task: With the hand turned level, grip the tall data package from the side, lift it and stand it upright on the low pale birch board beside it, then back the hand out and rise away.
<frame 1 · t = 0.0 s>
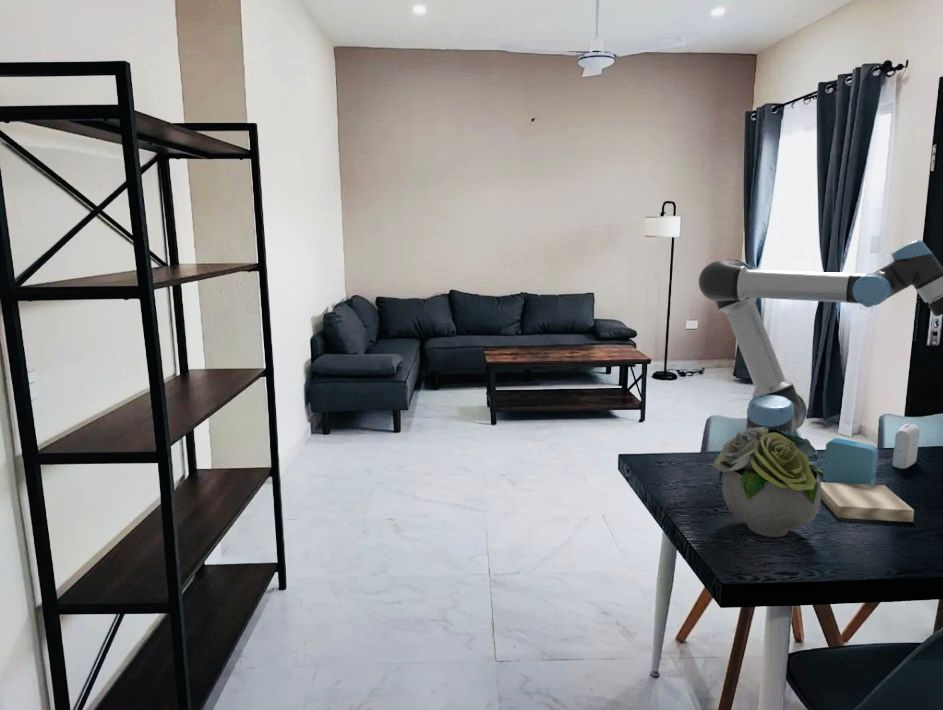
data package: (847, 485, 189), on the table
birch board: (861, 506, 174), on the table
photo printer: (904, 465, 205), on the table
flower arrangement: (767, 531, 160), on the table
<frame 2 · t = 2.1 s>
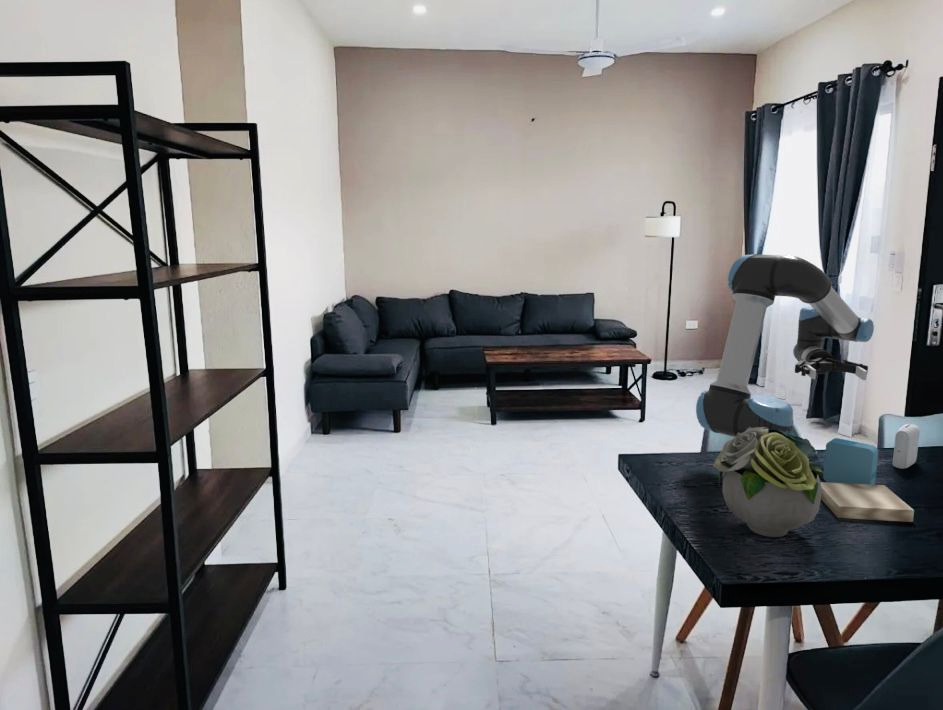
hand: (839, 375, 197), 28 cm above the table, tool horizontal, fingers open, 13 cm apart
nothing on the table moved.
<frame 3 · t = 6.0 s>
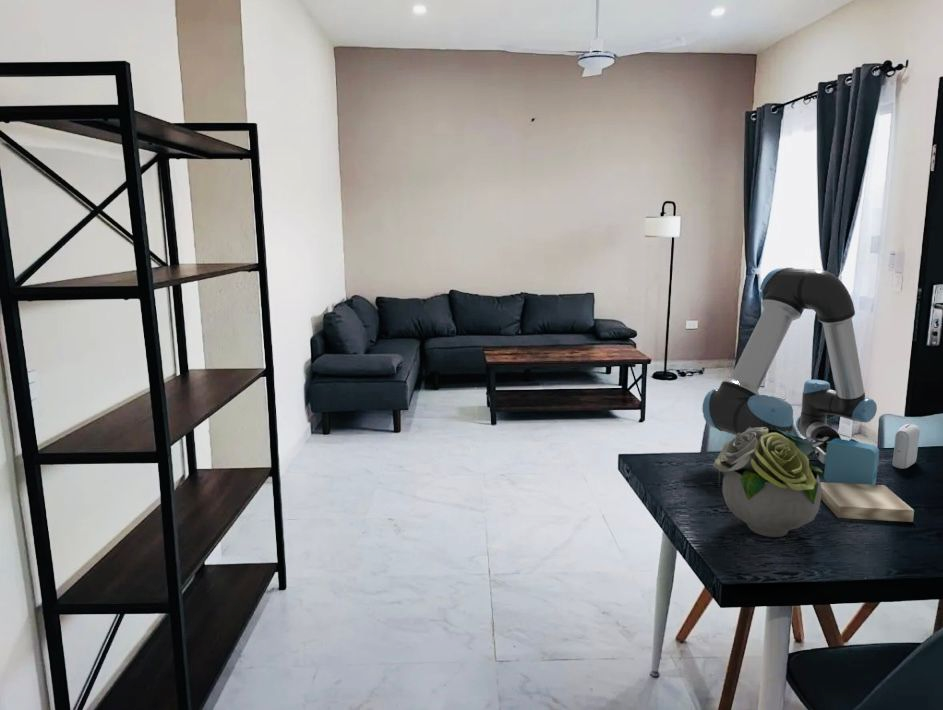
hand: (850, 460, 189), 6 cm above the table, tool horizontal, fingers open, 13 cm apart
data package: (849, 485, 188), on the table, touching gripper
everything else where it was.
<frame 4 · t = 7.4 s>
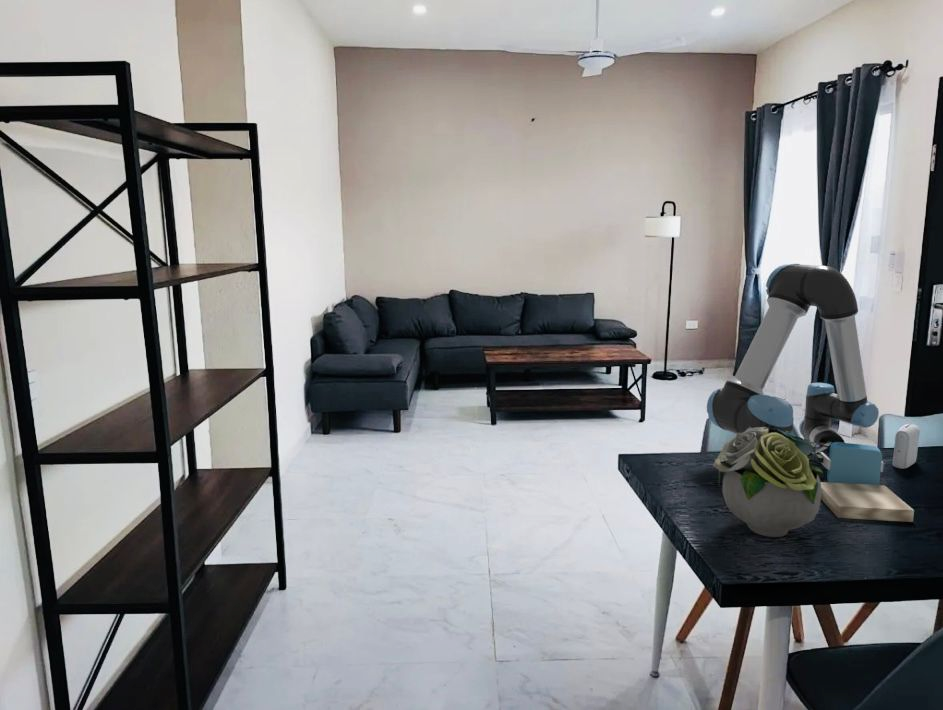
hand: (855, 465, 184), 7 cm above the table, tool horizontal, fingers closed on data package, 13 cm apart
data package: (851, 488, 186), on the table, touching gripper
everything else where it was.
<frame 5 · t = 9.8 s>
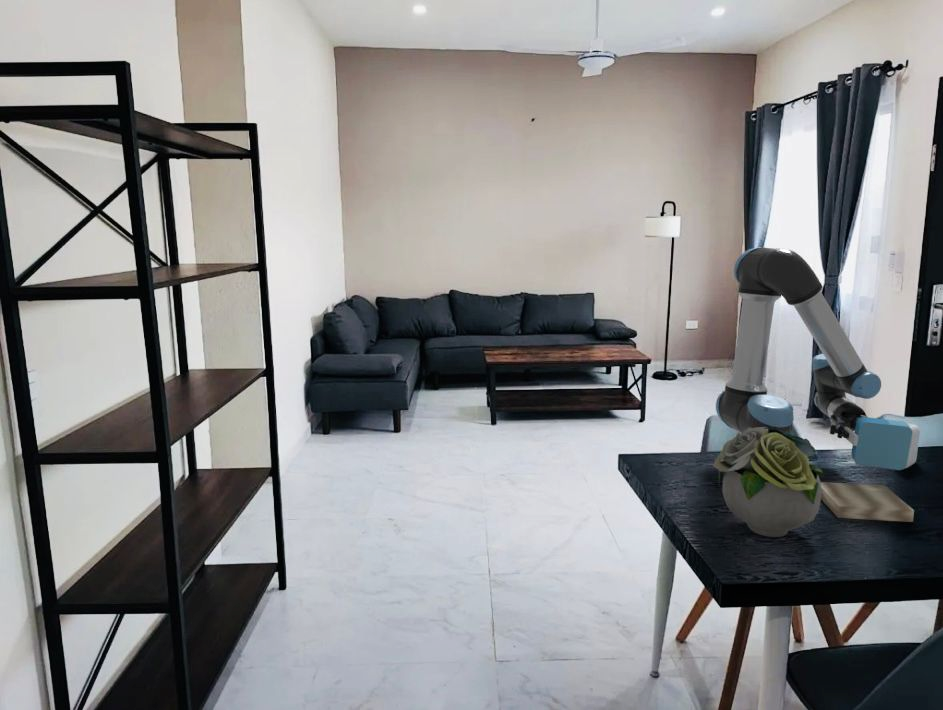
hand: (883, 442, 176), 16 cm above the table, tool horizontal, fingers closed on data package, 13 cm apart
data package: (877, 465, 178), point 9 cm above the table, touching gripper
everything else where it was.
when the fingers open (11 cm above the table, at t = 12.2 s): data package drops 1 cm, resting on birch board.
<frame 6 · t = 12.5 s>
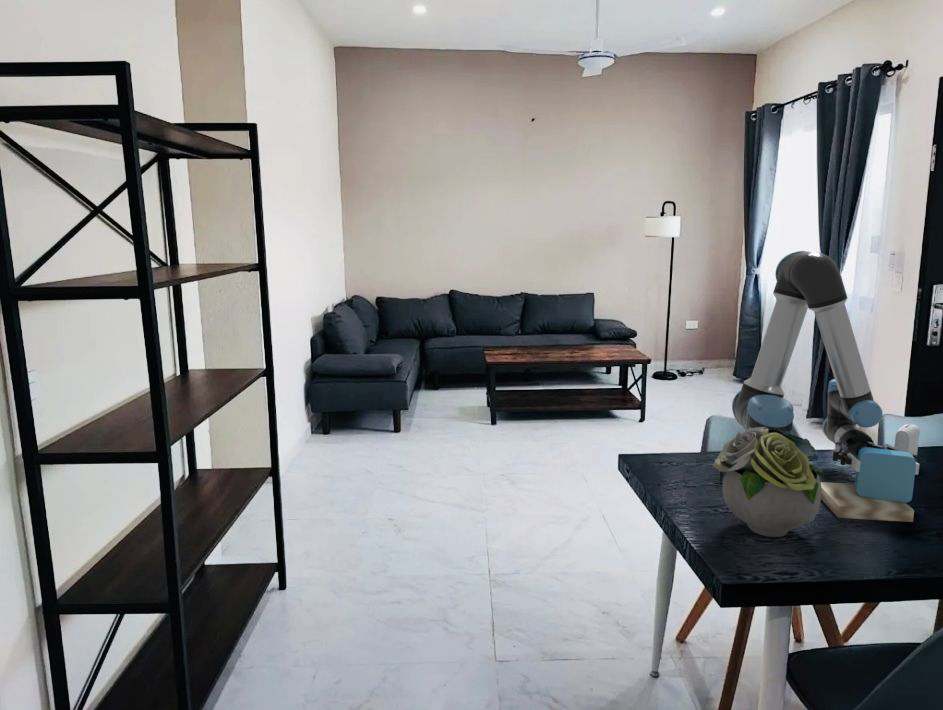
hand: (887, 468, 169), 11 cm above the table, tool horizontal, fingers open, 13 cm apart
data package: (882, 497, 172), point 3 cm above the table, touching birch board
everything else where it was.
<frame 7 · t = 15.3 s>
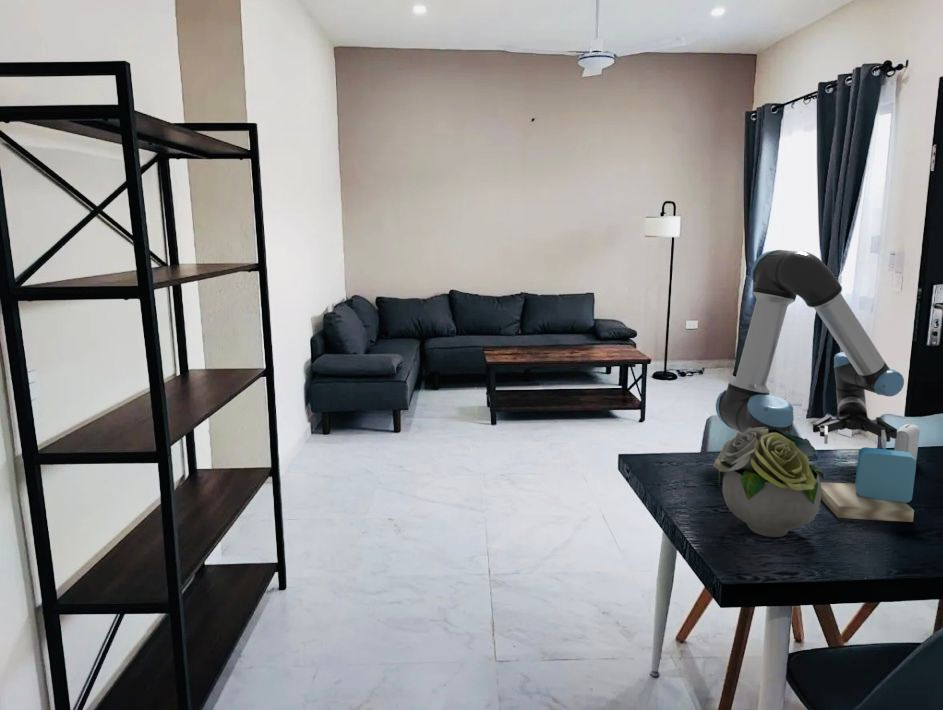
hand: (854, 441, 181), 14 cm above the table, tool horizontal, fingers open, 13 cm apart
nothing on the table moved.
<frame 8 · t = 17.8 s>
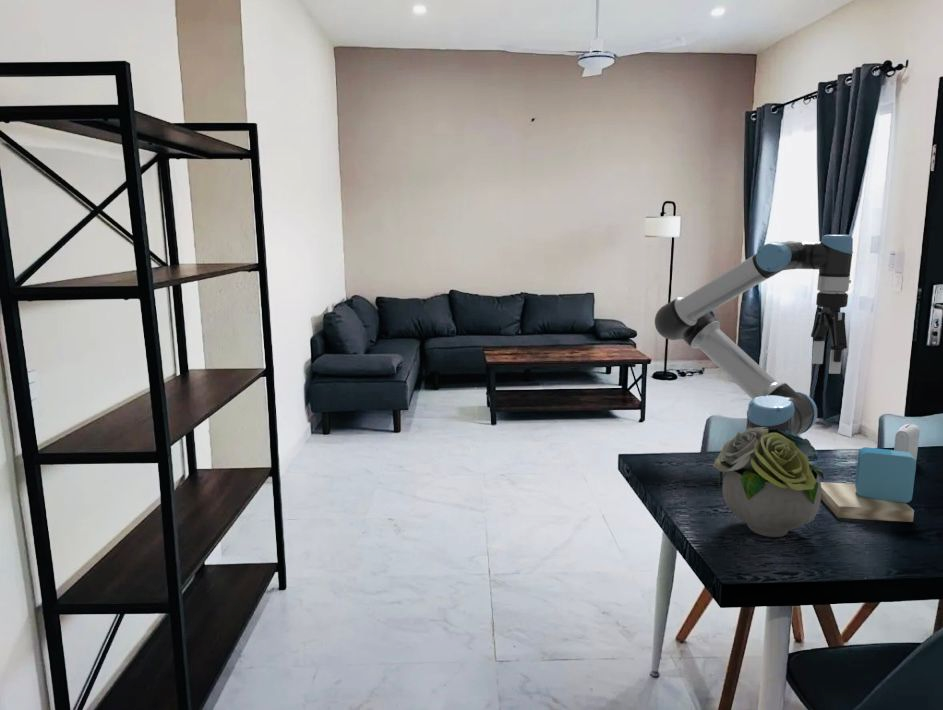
hand: (825, 368, 189), 32 cm above the table, tool pointing down, fingers open, 13 cm apart
nothing on the table moved.
at the end: data package inside the target area on the birch board (1.4 cm from its centre), point 2.8 cm above the birch board's base; data package tilted 0°; the gripper is holding nothing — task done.
